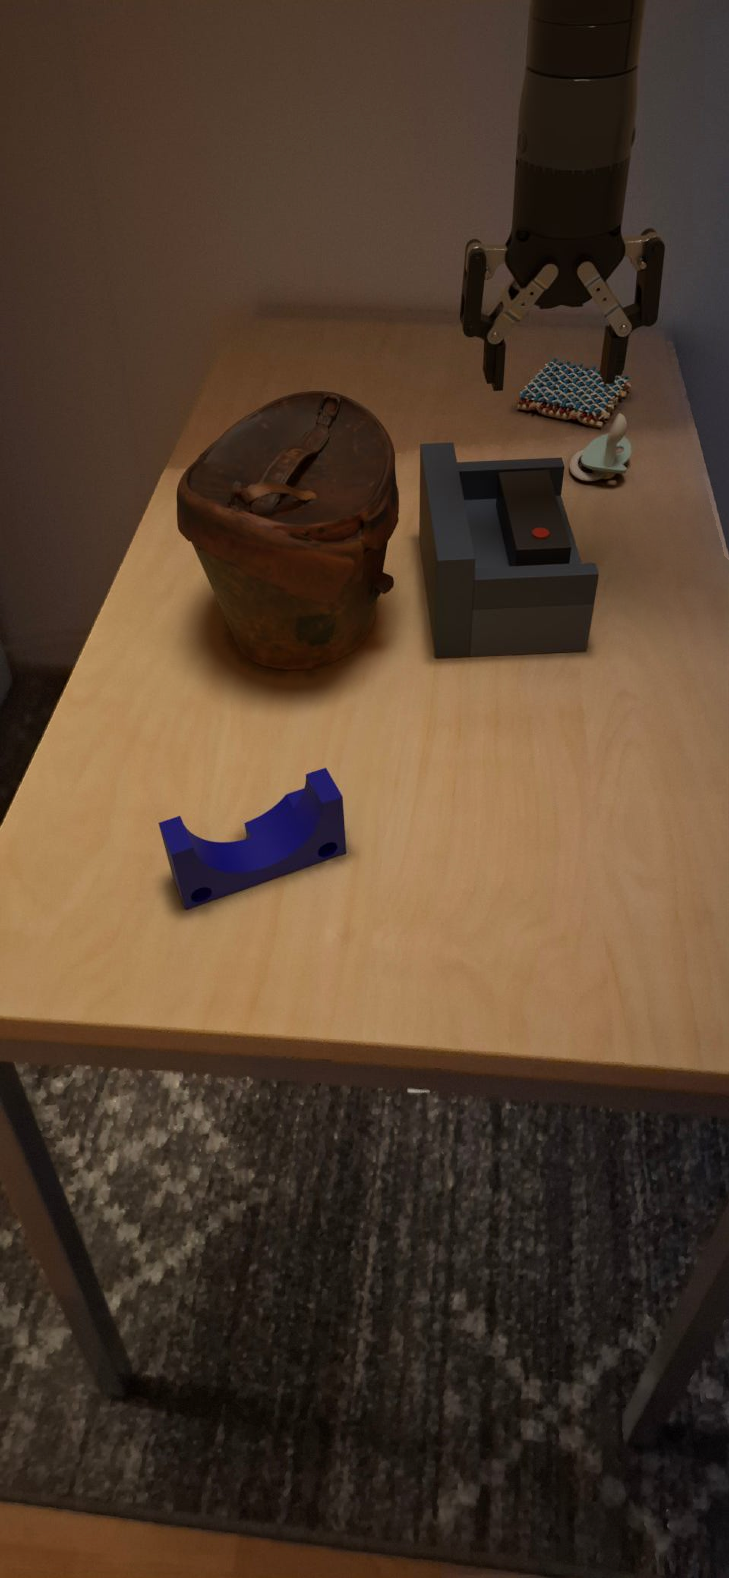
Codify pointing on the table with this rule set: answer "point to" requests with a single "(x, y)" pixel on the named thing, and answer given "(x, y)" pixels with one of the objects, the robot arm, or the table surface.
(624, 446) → the pacifier
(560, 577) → the sofa
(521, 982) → the table surface
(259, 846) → the blue bracket
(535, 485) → the remote
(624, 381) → the woven mat
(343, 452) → the case
